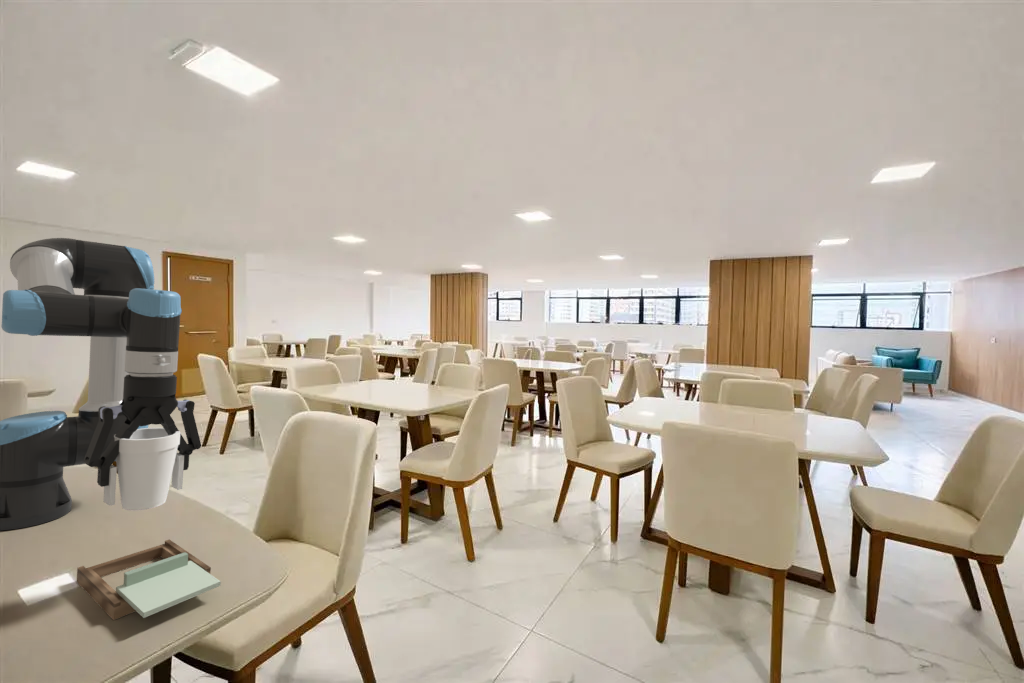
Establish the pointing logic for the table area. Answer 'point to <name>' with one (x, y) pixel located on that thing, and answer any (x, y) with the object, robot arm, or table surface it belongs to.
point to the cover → (165, 584)
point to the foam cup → (146, 467)
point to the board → (105, 593)
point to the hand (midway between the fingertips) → (144, 494)
